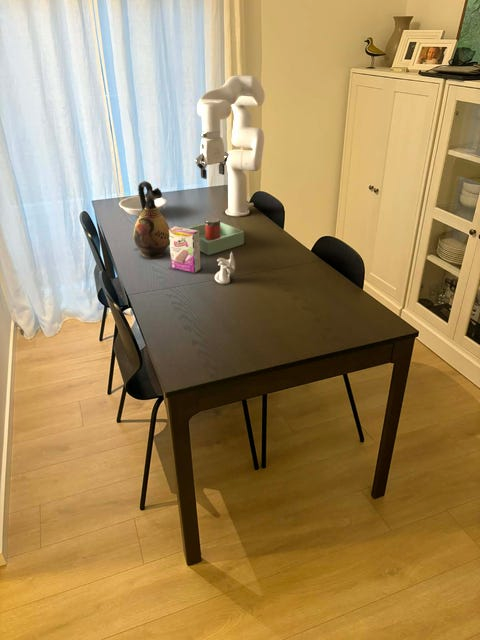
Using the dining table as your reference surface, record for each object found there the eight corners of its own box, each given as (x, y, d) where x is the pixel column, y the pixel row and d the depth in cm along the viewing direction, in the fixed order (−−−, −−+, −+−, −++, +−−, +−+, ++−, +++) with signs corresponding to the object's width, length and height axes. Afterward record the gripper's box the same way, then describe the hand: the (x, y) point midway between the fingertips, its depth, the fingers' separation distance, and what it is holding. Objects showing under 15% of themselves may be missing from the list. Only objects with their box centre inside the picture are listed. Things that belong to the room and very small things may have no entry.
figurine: (211, 279, 188) (210, 249, 182) (229, 274, 191) (229, 246, 185) (224, 290, 180) (224, 260, 174) (242, 286, 183) (243, 256, 177)
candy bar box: (170, 268, 196) (167, 229, 187) (177, 264, 200) (174, 225, 191) (195, 273, 192) (193, 234, 183) (201, 269, 196) (199, 229, 187)
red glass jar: (214, 237, 223) (213, 216, 218) (223, 241, 219) (223, 220, 214) (202, 240, 219) (201, 219, 214) (211, 245, 215) (211, 223, 210)
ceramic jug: (179, 253, 209) (175, 183, 194) (150, 264, 199) (143, 191, 184) (154, 243, 219) (148, 175, 204) (125, 253, 209) (117, 182, 194)
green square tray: (217, 231, 231) (216, 220, 228) (243, 244, 218) (244, 231, 215) (182, 241, 220) (181, 229, 218) (208, 255, 208) (208, 242, 205)
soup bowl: (177, 212, 255) (176, 200, 252) (146, 226, 238) (144, 212, 234) (142, 204, 266) (141, 192, 263) (110, 217, 249) (108, 204, 246)
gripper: (200, 139, 196) (202, 182, 206) (233, 133, 206) (233, 174, 215) (189, 136, 201) (191, 178, 210) (222, 130, 211) (223, 170, 220)
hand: (212, 176), depth 213 cm, fingers open, 9 cm apart
